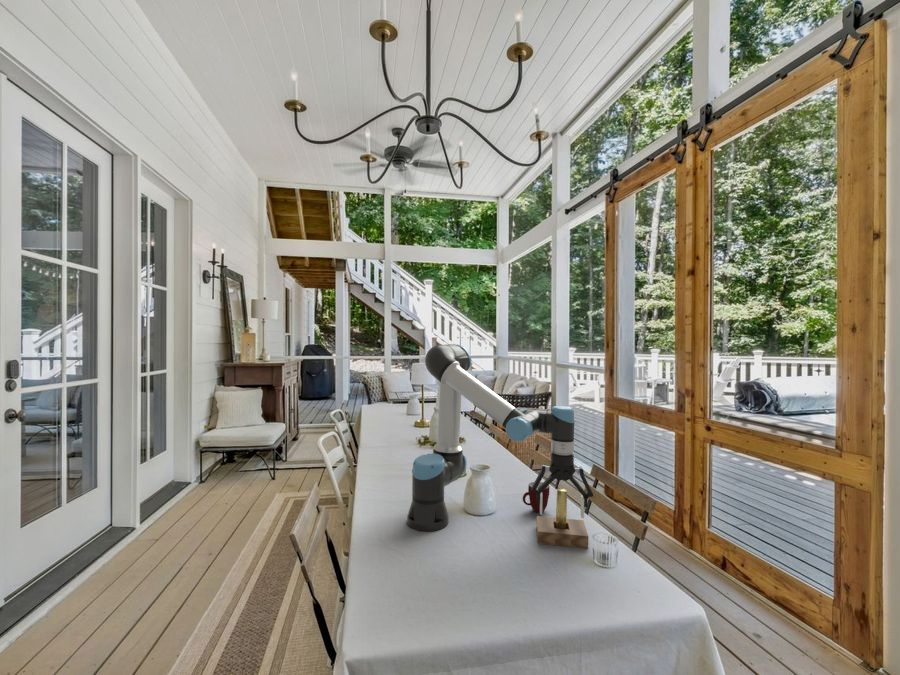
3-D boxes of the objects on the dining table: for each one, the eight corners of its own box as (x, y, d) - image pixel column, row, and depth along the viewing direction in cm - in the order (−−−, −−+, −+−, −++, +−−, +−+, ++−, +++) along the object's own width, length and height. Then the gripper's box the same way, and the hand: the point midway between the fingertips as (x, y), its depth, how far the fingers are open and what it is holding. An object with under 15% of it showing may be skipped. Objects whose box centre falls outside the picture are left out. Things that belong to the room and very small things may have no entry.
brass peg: (555, 539, 141) (557, 491, 141) (555, 534, 145) (556, 488, 145) (566, 540, 141) (567, 492, 141) (565, 535, 144) (566, 489, 144)
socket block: (537, 543, 138) (537, 531, 138) (536, 527, 150) (536, 516, 150) (588, 548, 135) (588, 536, 135) (583, 531, 147) (583, 520, 147)
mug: (528, 517, 158) (529, 490, 158) (518, 508, 166) (519, 483, 166) (553, 513, 162) (553, 487, 161) (542, 505, 169) (542, 480, 169)
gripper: (525, 453, 141) (524, 515, 141) (602, 457, 137) (601, 522, 137) (525, 447, 148) (524, 507, 148) (598, 451, 144) (597, 513, 144)
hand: (561, 514), depth 143 cm, fingers open, 13 cm apart
